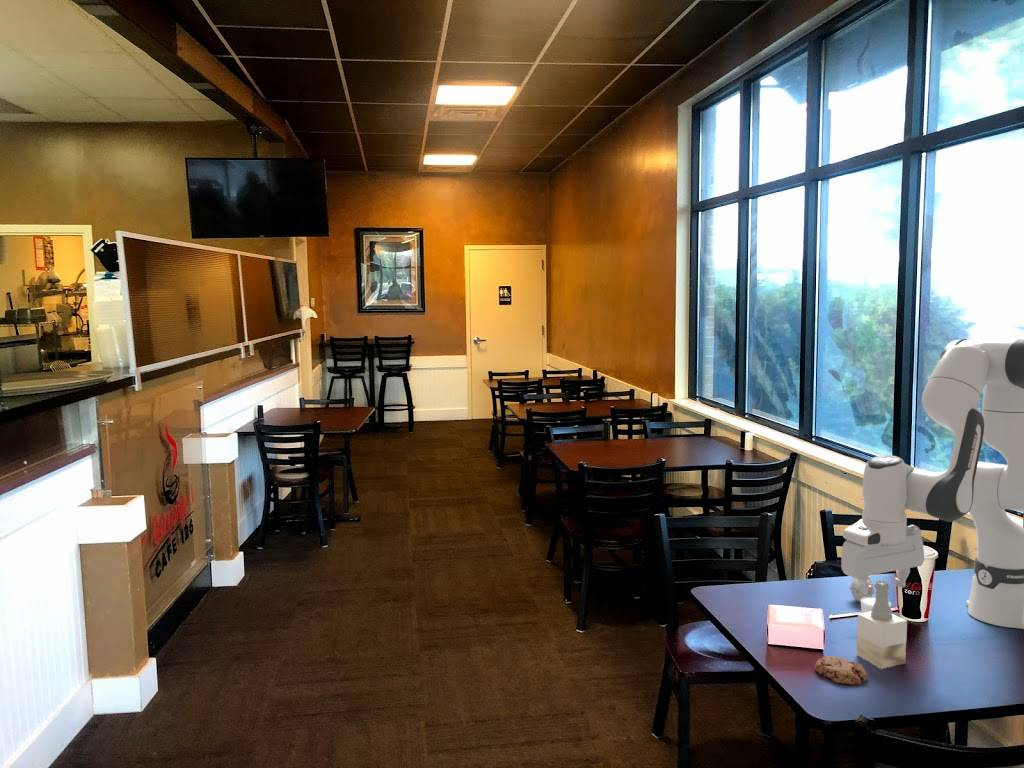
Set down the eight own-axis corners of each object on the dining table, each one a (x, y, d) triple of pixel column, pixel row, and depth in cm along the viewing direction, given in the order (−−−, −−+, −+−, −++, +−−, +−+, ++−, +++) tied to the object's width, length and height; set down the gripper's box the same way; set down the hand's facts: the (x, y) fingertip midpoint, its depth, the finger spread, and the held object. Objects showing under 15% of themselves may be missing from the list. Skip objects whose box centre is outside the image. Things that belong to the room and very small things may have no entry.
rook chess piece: (889, 613, 171) (890, 579, 171) (894, 621, 167) (895, 586, 166) (868, 612, 172) (869, 578, 172) (873, 620, 168) (873, 585, 167)
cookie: (818, 660, 171) (818, 648, 171) (870, 671, 166) (870, 658, 166) (810, 679, 163) (810, 666, 163) (864, 691, 158) (864, 677, 157)
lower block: (880, 650, 175) (881, 629, 175) (905, 663, 169) (906, 642, 168) (856, 655, 173) (857, 634, 172) (880, 669, 166) (881, 647, 166)
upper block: (881, 629, 175) (881, 609, 174) (906, 642, 168) (906, 620, 168) (857, 635, 172) (857, 613, 172) (881, 647, 166) (882, 625, 165)
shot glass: (894, 635, 182) (895, 607, 182) (863, 634, 184) (864, 606, 183) (886, 624, 189) (886, 597, 188) (856, 622, 191) (857, 595, 190)
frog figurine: (875, 598, 205) (876, 574, 205) (872, 608, 199) (873, 582, 199) (851, 595, 208) (851, 570, 208) (847, 603, 202) (848, 578, 202)
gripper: (909, 520, 174) (908, 578, 176) (836, 531, 168) (836, 592, 169) (932, 527, 168) (930, 587, 170) (858, 539, 162) (857, 602, 163)
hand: (883, 589), depth 169 cm, fingers open, 8 cm apart
